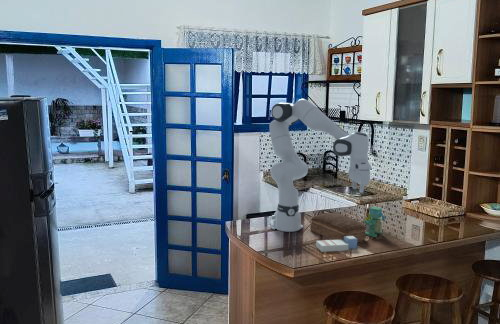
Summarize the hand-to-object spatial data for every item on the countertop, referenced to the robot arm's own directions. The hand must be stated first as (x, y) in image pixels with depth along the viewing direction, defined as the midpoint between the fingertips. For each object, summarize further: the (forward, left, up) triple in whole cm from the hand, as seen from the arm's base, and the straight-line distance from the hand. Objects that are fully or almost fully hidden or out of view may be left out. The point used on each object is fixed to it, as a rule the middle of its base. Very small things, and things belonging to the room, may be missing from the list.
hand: (357, 190), depth 230 cm
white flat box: (+5, -15, -28) cm, 32 cm away
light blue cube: (+5, -5, -28) cm, 29 cm away
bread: (-15, -4, -29) cm, 32 cm away
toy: (-13, +18, -28) cm, 36 cm away
